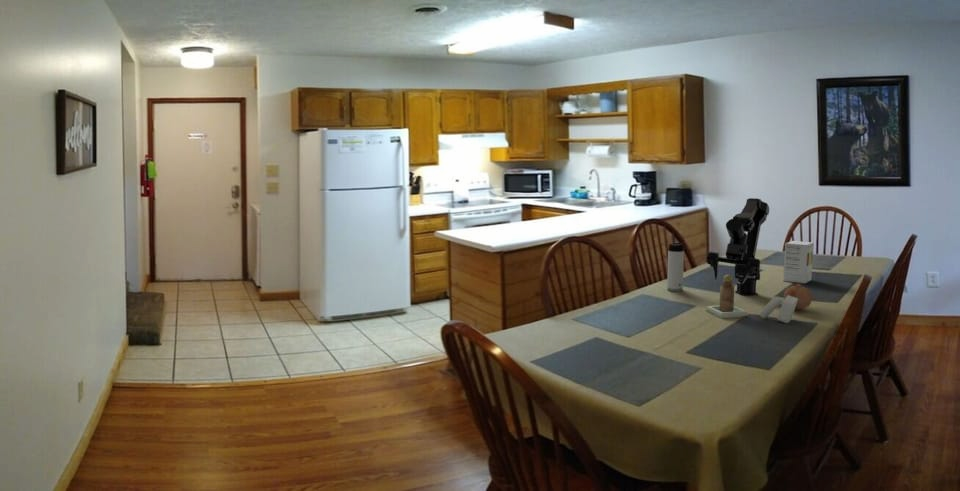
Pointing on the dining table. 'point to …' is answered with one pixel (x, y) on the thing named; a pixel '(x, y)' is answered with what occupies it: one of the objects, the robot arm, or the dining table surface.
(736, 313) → the keeper dish
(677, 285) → the travel mug
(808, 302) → the onion
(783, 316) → the wall hook
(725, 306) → the pepper mill
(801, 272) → the supplement box
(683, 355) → the dining table surface
